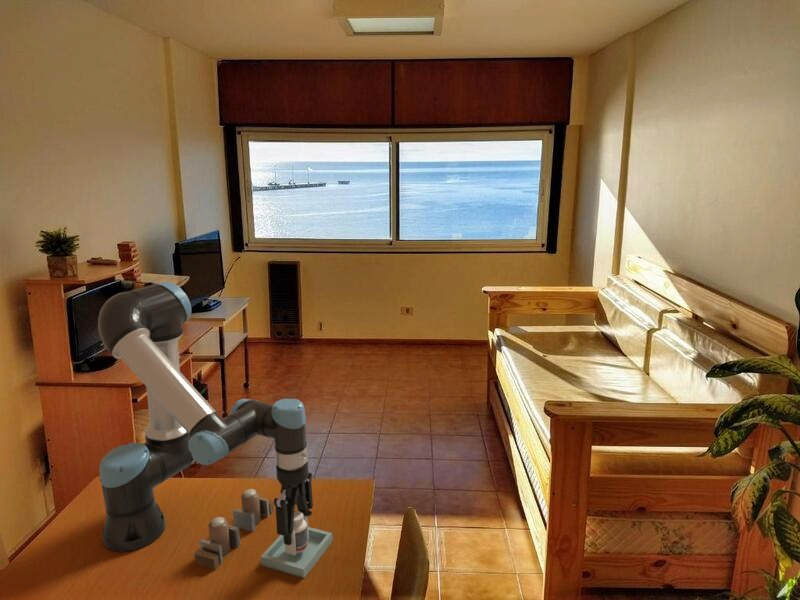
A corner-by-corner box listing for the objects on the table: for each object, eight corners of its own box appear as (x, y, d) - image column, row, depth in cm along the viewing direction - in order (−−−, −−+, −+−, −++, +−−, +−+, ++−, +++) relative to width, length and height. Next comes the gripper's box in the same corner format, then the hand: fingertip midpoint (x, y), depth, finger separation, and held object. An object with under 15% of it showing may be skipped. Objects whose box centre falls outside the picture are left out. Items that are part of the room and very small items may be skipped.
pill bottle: (311, 540, 146) (309, 510, 143) (303, 554, 141) (301, 523, 139) (291, 538, 147) (289, 508, 145) (283, 552, 142) (281, 521, 140)
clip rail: (195, 563, 141) (193, 546, 140) (256, 506, 163) (254, 490, 162) (215, 569, 139) (213, 552, 138) (273, 510, 161) (272, 495, 160)
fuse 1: (207, 554, 144) (204, 524, 142) (219, 543, 148) (216, 513, 146) (222, 559, 142) (219, 528, 140) (234, 547, 147) (231, 517, 144)
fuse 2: (239, 523, 156) (237, 495, 153) (250, 514, 160) (247, 486, 158) (254, 527, 154) (251, 499, 152) (264, 517, 158) (261, 489, 156)
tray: (261, 565, 140) (260, 556, 140) (292, 530, 153) (292, 522, 152) (304, 578, 136) (303, 569, 135) (332, 541, 148) (332, 533, 148)
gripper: (284, 486, 128) (290, 574, 134) (324, 447, 144) (328, 527, 151) (256, 479, 131) (263, 565, 137) (298, 442, 147) (303, 520, 153)
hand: (297, 545), depth 144 cm, fingers closed on pill bottle, 5 cm apart
